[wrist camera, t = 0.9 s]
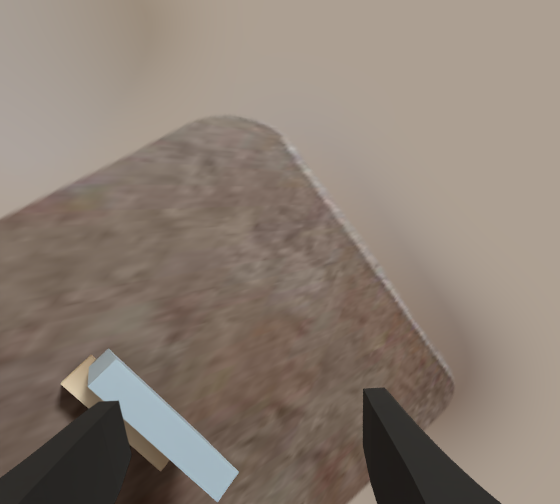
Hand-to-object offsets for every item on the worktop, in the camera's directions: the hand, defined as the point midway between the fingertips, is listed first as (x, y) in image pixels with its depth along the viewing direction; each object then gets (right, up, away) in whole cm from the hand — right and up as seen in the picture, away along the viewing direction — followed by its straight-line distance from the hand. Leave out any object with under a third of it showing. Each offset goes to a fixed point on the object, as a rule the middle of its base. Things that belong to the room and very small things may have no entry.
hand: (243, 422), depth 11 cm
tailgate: (-6, -3, +8) cm, 11 cm away
